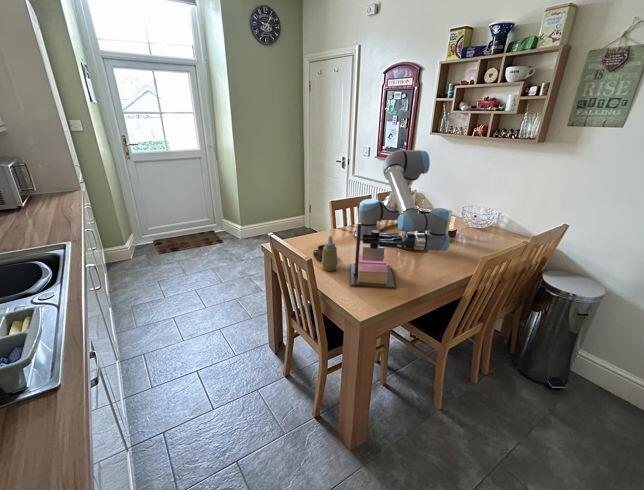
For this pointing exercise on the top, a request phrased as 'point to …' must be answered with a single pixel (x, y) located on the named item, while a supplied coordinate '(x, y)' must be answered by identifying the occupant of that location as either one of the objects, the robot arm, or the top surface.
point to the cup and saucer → (318, 252)
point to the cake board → (374, 285)
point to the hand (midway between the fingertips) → (363, 238)
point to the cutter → (373, 250)
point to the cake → (372, 271)
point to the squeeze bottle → (329, 255)
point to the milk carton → (448, 222)
